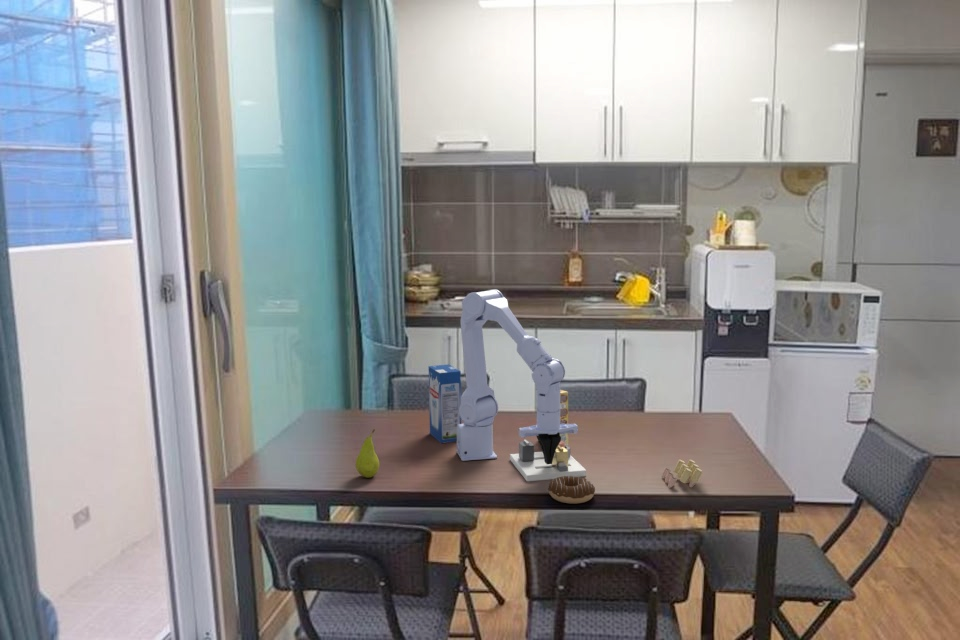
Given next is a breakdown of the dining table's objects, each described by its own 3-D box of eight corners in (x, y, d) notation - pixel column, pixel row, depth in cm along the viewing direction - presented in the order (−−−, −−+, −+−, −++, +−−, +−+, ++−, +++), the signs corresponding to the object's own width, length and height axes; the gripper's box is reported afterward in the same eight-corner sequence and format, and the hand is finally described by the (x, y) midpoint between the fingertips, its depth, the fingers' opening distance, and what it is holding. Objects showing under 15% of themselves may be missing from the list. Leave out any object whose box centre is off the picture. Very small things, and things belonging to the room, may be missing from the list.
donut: (539, 500, 171) (539, 483, 170) (561, 485, 180) (561, 469, 179) (582, 510, 165) (582, 493, 165) (602, 494, 174) (602, 478, 173)
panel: (526, 481, 182) (526, 466, 181) (510, 459, 197) (510, 446, 197) (586, 476, 185) (586, 461, 185) (564, 455, 201) (565, 441, 200)
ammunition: (694, 458, 183) (661, 458, 183) (703, 469, 176) (669, 469, 176) (694, 477, 184) (661, 477, 184) (702, 489, 177) (668, 489, 177)
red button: (552, 456, 193) (552, 445, 193) (547, 451, 197) (547, 440, 197) (567, 455, 194) (567, 444, 194) (562, 450, 198) (562, 439, 198)
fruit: (351, 476, 186) (349, 429, 184) (370, 470, 190) (369, 424, 189) (365, 482, 182) (363, 434, 180) (384, 476, 186) (383, 429, 184)
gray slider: (522, 461, 191) (522, 443, 190) (518, 457, 194) (518, 439, 194) (534, 460, 192) (534, 443, 191) (530, 456, 195) (530, 438, 194)
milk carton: (461, 440, 214) (460, 371, 211) (440, 443, 212) (439, 373, 209) (449, 430, 223) (448, 364, 220) (429, 433, 221) (428, 366, 218)
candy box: (569, 445, 208) (569, 391, 206) (557, 448, 206) (557, 393, 204) (548, 437, 216) (549, 385, 213) (537, 440, 213) (537, 387, 211)
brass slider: (556, 467, 186) (556, 449, 185) (552, 463, 190) (552, 445, 189) (568, 466, 187) (568, 448, 186) (563, 462, 190) (563, 444, 189)
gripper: (524, 416, 180) (524, 470, 182) (582, 411, 183) (581, 465, 185) (516, 408, 187) (516, 461, 189) (572, 404, 190) (572, 456, 192)
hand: (548, 462), depth 187 cm, fingers closed
